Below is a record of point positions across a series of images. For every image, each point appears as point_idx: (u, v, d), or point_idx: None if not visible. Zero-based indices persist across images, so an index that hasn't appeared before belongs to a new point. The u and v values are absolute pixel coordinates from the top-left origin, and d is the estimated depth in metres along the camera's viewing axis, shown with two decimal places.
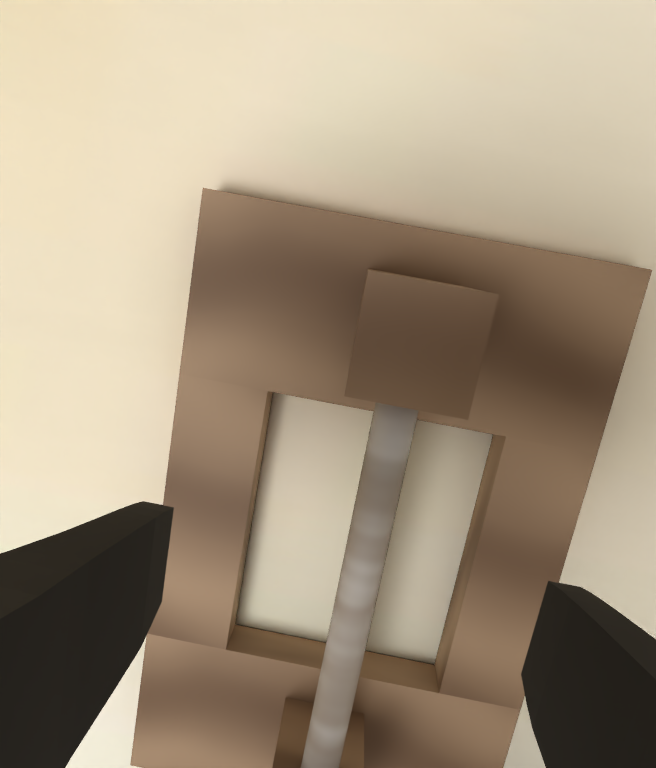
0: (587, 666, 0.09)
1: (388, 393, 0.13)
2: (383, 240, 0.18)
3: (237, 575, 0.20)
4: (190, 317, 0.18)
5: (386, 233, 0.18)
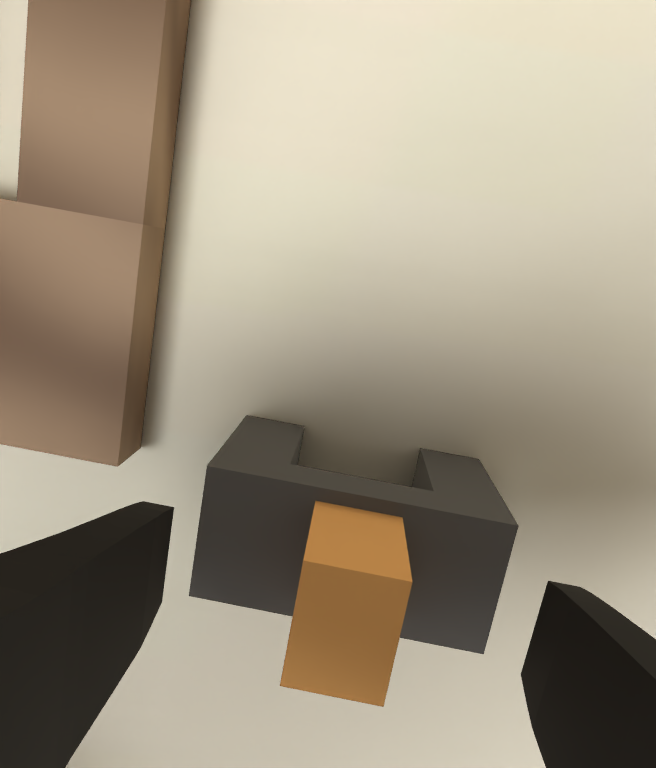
0: (586, 666, 0.09)
1: None
2: None
3: None
4: None
5: None
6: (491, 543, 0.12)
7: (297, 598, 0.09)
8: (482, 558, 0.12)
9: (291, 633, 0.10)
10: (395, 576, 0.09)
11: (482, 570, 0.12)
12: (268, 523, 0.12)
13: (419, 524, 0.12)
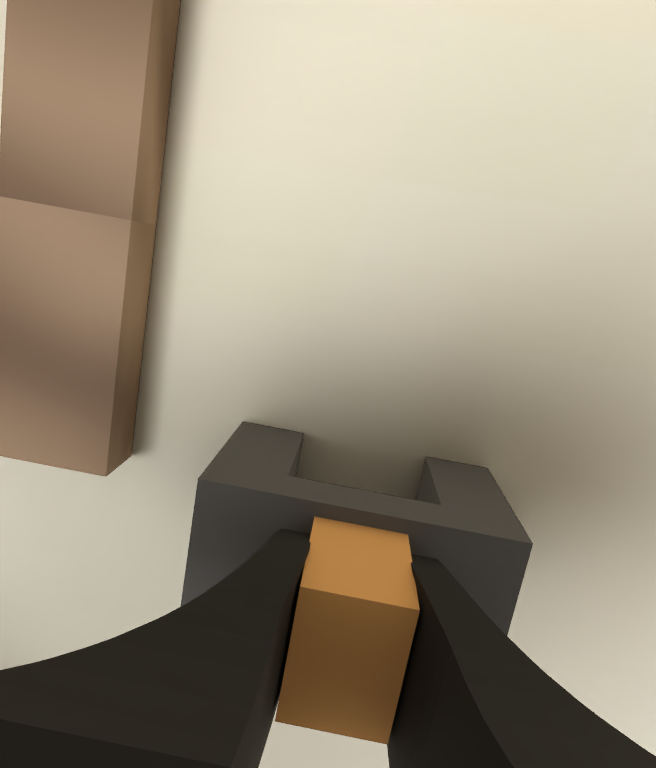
0: (415, 631, 0.09)
1: None
2: None
3: None
4: None
5: None
6: (503, 562, 0.11)
7: (293, 627, 0.09)
8: (493, 578, 0.11)
9: (287, 665, 0.09)
10: (401, 604, 0.08)
11: (493, 591, 0.11)
12: (265, 540, 0.11)
13: (426, 542, 0.11)
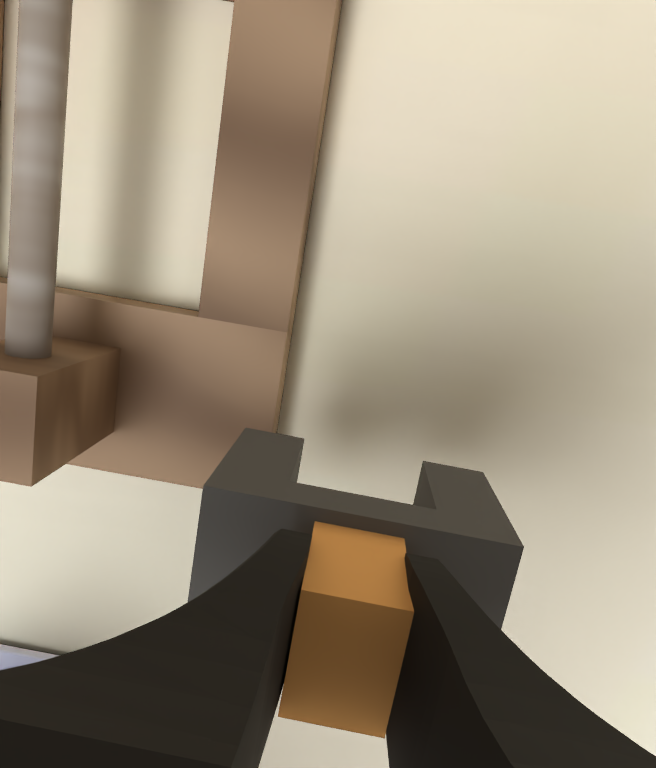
0: (415, 631, 0.09)
1: None
2: None
3: None
4: None
5: None
6: (496, 564, 0.11)
7: (295, 627, 0.09)
8: (486, 580, 0.11)
9: (289, 663, 0.09)
10: (396, 605, 0.09)
11: (486, 591, 0.11)
12: None
13: (421, 545, 0.11)
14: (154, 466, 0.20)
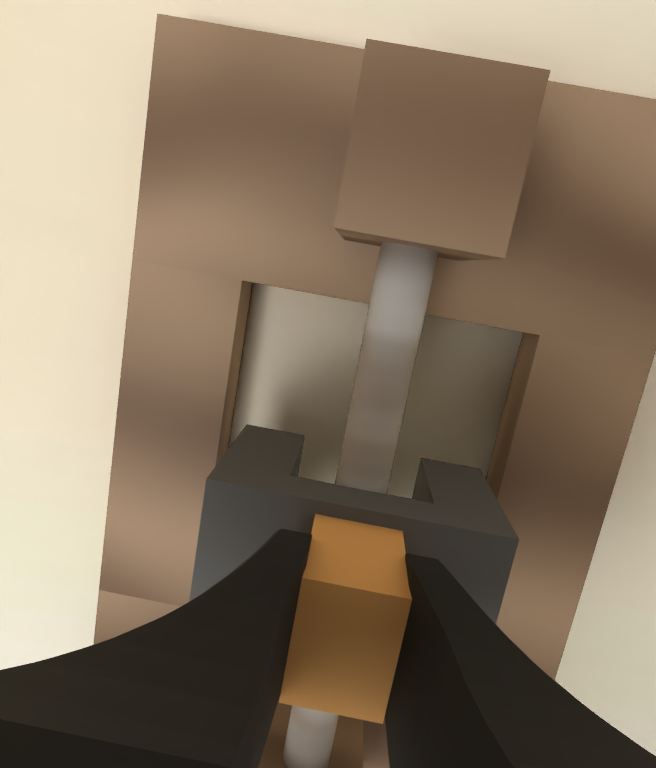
0: (415, 632, 0.09)
1: (395, 221, 0.10)
2: None
3: None
4: (144, 186, 0.15)
5: None
6: (492, 557, 0.11)
7: (296, 615, 0.09)
8: (483, 572, 0.12)
9: (290, 650, 0.09)
10: (395, 593, 0.09)
11: (483, 583, 0.12)
12: (268, 536, 0.12)
13: (419, 537, 0.11)
14: None
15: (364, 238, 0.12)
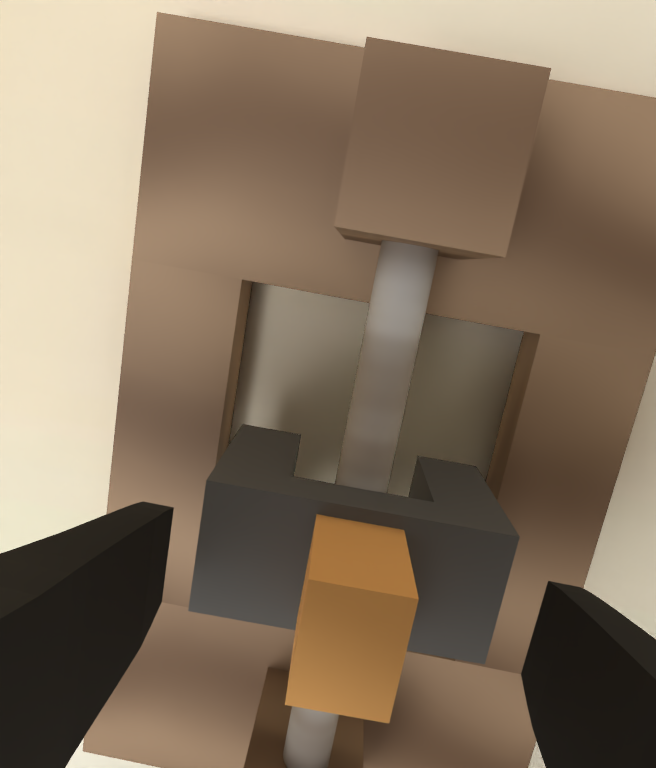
0: (587, 666, 0.09)
1: (395, 220, 0.10)
2: None
3: None
4: (144, 185, 0.15)
5: None
6: (493, 554, 0.12)
7: (302, 617, 0.09)
8: (484, 569, 0.12)
9: (296, 652, 0.09)
10: (401, 593, 0.09)
11: (483, 581, 0.12)
12: (269, 537, 0.12)
13: (421, 536, 0.11)
14: None
15: (364, 237, 0.12)
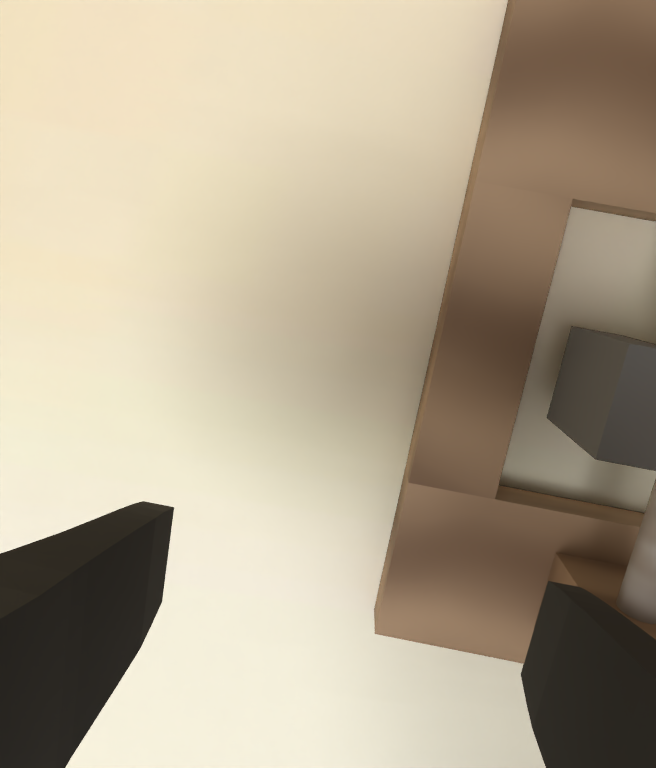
0: (587, 666, 0.09)
1: None
2: None
3: (515, 414, 0.19)
4: (494, 115, 0.17)
5: None
6: None
7: None
8: None
9: None
10: None
11: None
12: None
13: None
14: None
15: None
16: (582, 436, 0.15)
